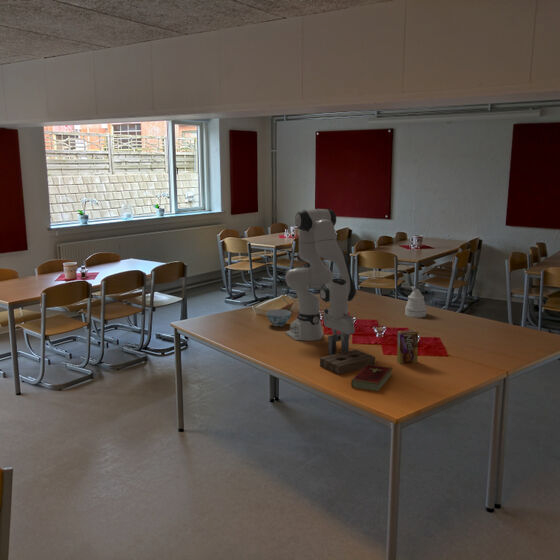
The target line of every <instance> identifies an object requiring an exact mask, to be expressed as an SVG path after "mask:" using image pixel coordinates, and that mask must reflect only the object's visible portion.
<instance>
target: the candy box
mask: <svg viewBox="0 0 560 560" xmlns="http://www.w3.org/2000/svg"><path fill="white" fill-rule="evenodd" d="M396 343H397V351H396V353H397V355H396V356H397V357H396V361H397V363H398V364H399V365H406V364H418V347H419V346H418V345H419V344H418V343H419V331H417V330H416V329H414V330H398V331H397V342H396Z"/></svg>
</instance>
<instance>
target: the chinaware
mask: <svg viewBox="0 0 560 560" xmlns="http://www.w3.org/2000/svg"><path fill="white" fill-rule="evenodd" d="M265 314H266V318H267V319H268V321H269V322H270V323H271V324H272V325H273V327H277V326H280V327H284V326H285V324H287V323H288V322H289V320H290V318H291V316H292V311H290V310H288V309H272V310H268V311H266V312H265Z"/></svg>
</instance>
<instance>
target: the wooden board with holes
mask: <svg viewBox="0 0 560 560" xmlns="http://www.w3.org/2000/svg"><path fill="white" fill-rule="evenodd" d="M367 364H370V365H376V356H374V355H371V354H369V353H367V352H365V351H362V350H360V349H356V348H355V349H352V350H351V349H350V350H349V351H346V352H342V353H341V352H339V353H336V354H334V355H330V356H329V355H326V356H322V357H319V366H320V367H321V368H324V369H326V370H328V371H331V372H333V374H336V375H342V374H347V373H350V372H355V371H356V370H360V369H361V370H362V369H363V368H364V367H365V366H366V365H367Z"/></svg>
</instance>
